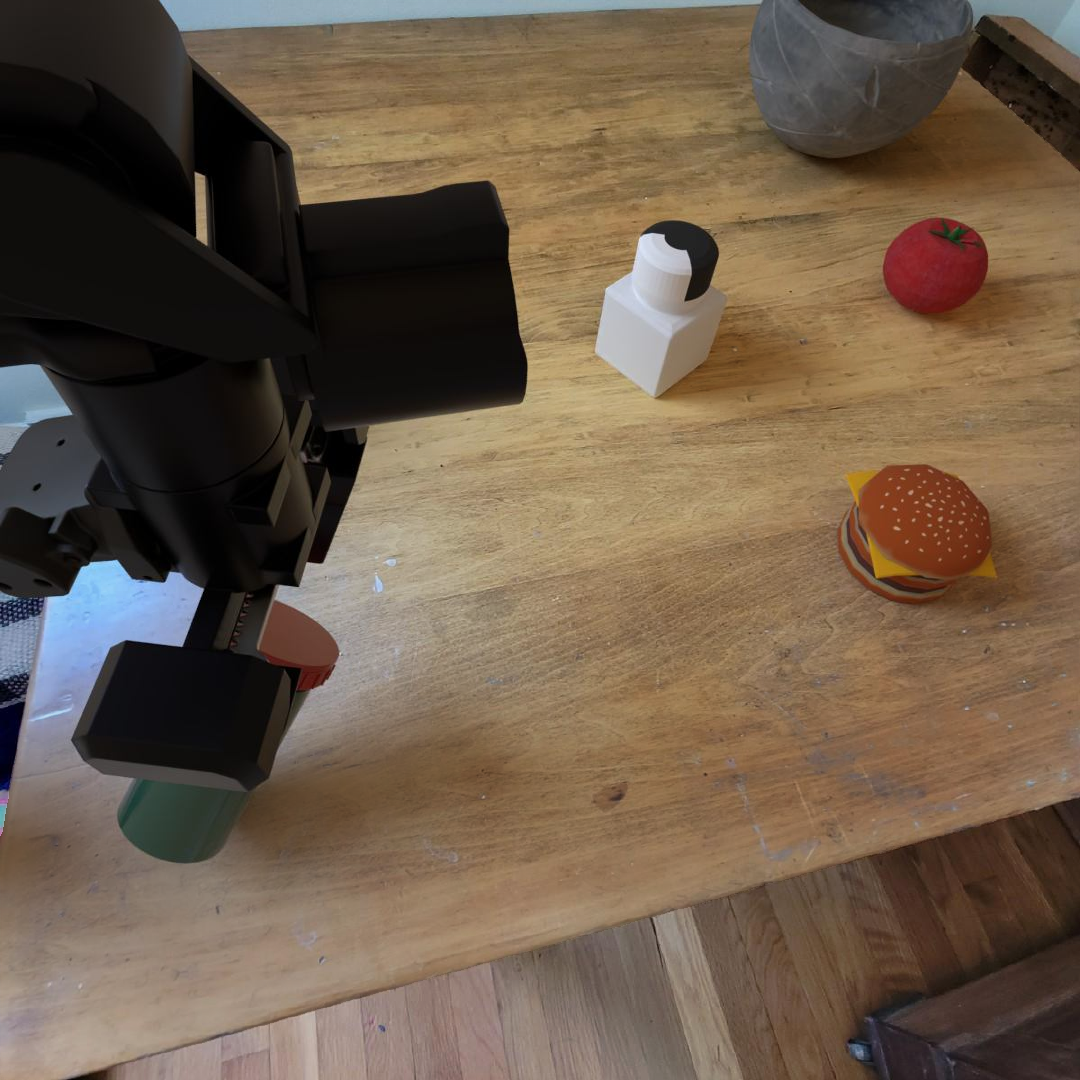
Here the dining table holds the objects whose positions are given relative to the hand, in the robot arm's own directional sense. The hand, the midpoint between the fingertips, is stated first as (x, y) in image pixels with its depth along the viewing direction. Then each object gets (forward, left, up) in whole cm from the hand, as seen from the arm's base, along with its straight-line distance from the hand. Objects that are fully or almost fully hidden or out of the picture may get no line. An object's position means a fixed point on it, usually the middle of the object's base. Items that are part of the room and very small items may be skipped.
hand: (292, 630), depth 39 cm
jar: (-7, -8, -11) cm, 15 cm away
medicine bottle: (+19, +35, -14) cm, 42 cm away
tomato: (+44, +47, -14) cm, 66 cm away
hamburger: (+38, +18, -14) cm, 44 cm away
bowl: (+37, +72, -14) cm, 82 cm away
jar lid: (-2, +1, -3) cm, 4 cm away
